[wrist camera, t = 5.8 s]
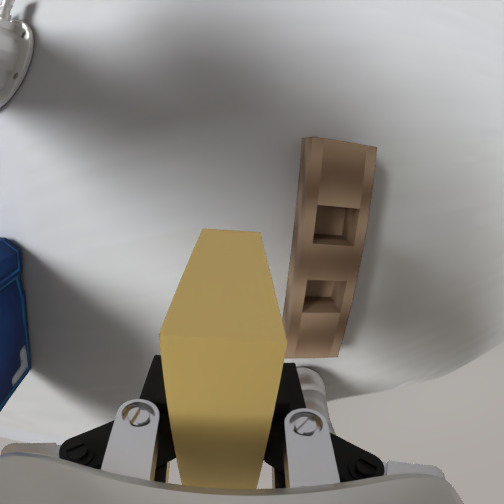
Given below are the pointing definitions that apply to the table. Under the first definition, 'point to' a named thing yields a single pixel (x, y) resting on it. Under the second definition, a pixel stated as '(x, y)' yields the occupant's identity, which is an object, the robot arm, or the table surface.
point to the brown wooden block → (326, 244)
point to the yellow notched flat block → (223, 360)
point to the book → (12, 322)
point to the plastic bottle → (314, 393)
